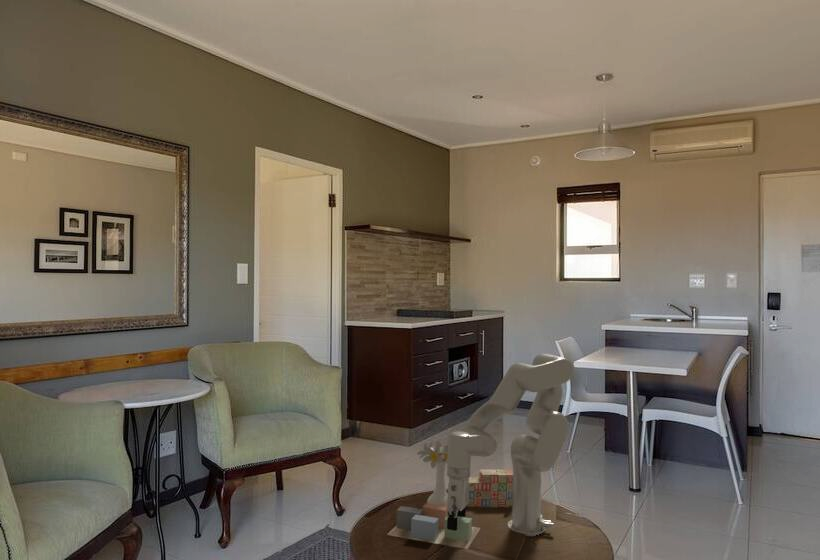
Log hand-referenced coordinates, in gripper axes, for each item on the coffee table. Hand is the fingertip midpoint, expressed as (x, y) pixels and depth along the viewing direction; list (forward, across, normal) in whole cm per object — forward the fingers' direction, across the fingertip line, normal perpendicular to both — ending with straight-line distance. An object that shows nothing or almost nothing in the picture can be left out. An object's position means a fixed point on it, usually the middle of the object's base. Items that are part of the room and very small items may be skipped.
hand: (456, 524), depth 193 cm
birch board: (+6, +2, +8) cm, 10 cm away
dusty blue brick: (+5, -3, +9) cm, 11 cm away
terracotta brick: (+4, +8, +9) cm, 13 cm away
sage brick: (+4, +1, -1) cm, 4 cm away
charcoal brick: (+5, +2, +16) cm, 17 cm away
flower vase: (+5, +21, +11) cm, 25 cm away
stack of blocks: (+5, +35, -1) cm, 35 cm away
